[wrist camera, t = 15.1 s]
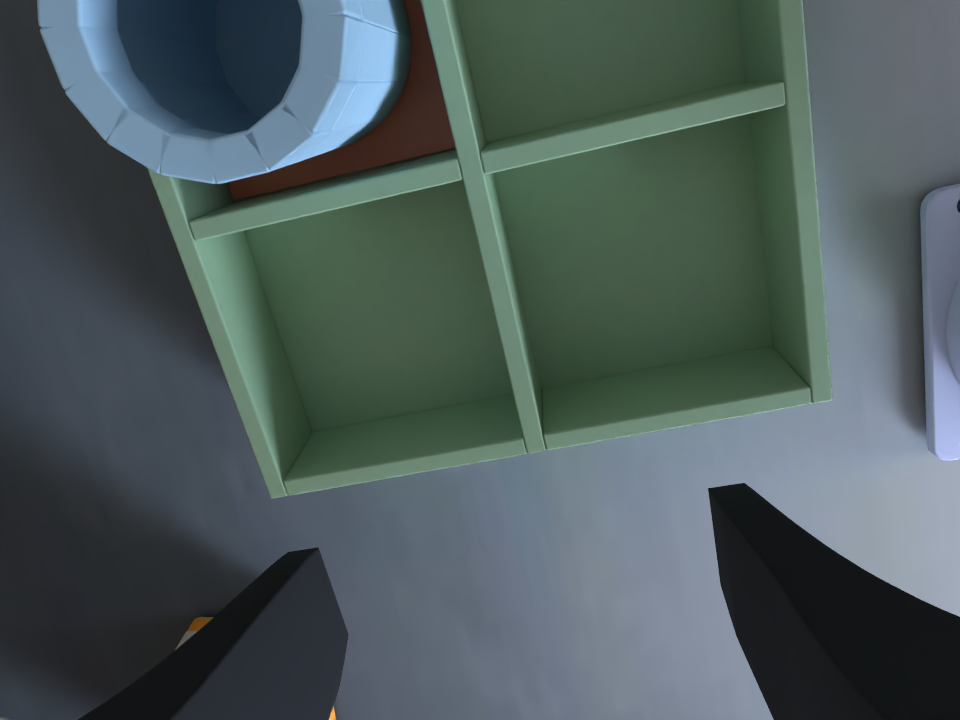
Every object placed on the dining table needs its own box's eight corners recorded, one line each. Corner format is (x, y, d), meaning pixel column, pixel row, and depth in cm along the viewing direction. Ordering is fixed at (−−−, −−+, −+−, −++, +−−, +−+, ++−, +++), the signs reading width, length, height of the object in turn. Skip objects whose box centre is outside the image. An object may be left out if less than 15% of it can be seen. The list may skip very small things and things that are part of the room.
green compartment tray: (727, -257, 16) (777, -344, 13) (785, 350, 21) (833, 401, 18) (130, -77, 18) (40, -112, 15) (307, 439, 23) (270, 499, 20)
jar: (380, -100, 17) (287, -212, 11) (434, 122, 19) (383, 145, 12) (180, -43, 18) (-21, -114, 11) (249, 167, 20) (109, 210, 13)
